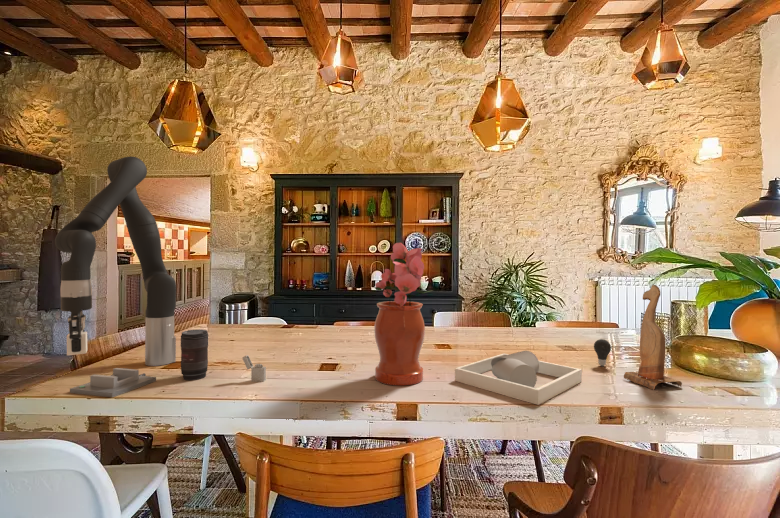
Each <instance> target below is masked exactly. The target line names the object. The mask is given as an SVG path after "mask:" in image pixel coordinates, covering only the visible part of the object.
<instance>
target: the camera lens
mask: <svg viewBox="0 0 780 518" xmlns="http://www.w3.org/2000/svg"><path fill="white" fill-rule="evenodd" d="M208 347H209V333H208V330H207V329H190V330H184V331H182V332H181V335H180V350H181V351H180V372H181V375H182V379H183V380H186V381H195V380H200V379H203V378H205V377H207V371H208V366H209V358H208V357H209V355H208V354H209V352H208V351H209V349H208Z"/></svg>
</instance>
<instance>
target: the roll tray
mask: <svg viewBox="0 0 780 518" xmlns="http://www.w3.org/2000/svg"><path fill="white" fill-rule="evenodd" d="M509 354H510V353H509ZM509 354H508V353H501V354H498V355H494V356H491V357H487V358H484V359H481V360H478V361H474V362H472V363H468V364H465V365H461V366H458V367H455V368H454V381H455V382H458V383H461V384H465V385H468V386H471V387H475V388H479V389H482V390H486V391H490V392H493V393H496V394H499V395H503V396H506V397H509V398H513V399H517V400H520V401H523V402H527V403H530V404H534V405H537V406H539V405H542V404H543V403H545V402H547V401H548V400H550V399H552V398H554V397H556V396H557V395H559V394H561V393H563V392H565V391H567V390H568V389H571V388H573V387H574V386H576V385H577V384H580V383H582V381H583V380H582V376H583V375H582V368H577V367H572V366H568V365H563V364H557V363H553V362H547V361H543V360H539V359H538V361H539V370H538V372H537V373H538V374H542V375H547V376H551V377H556V379H554V380H552V381H549V382H547V383H545V384H543V385H541V386H538V387H537V388H536V387H534V388H533V387H529V386H525V385H521V384H517V383H514V382H510V381H506V380H502V379H499V378H497V377H494V376H490V375H487V374H483V373H485V372H489V371H492V365H491V361H492V360H493V359H494V358H497V357H501V356H505V355H509ZM537 373H536V374H537Z"/></svg>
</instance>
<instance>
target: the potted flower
mask: <svg viewBox="0 0 780 518" xmlns="http://www.w3.org/2000/svg"><path fill="white" fill-rule="evenodd" d="M422 250H423V248H422V247H417V248H412V249H410V250H408V249H407V247H406V246H405V245H404V244H403V243H402V242H396V243H394V244H393V245H392V253H391V255H390V260H391V261H392V263H393V264H394V272H392V270H391V269H390V268H385V269H384V272H383V273H381V275H380V277H381V280H380V281H377V282H376V283H374V284H375V287H374V290H375V291H380V292H382V294H383V296H385V298H390V297H392V295H394V300H393V301H392V300H389V301H381V302H377V303H376V306H377V308H379V310H378V314H377V315H376V318H375V321H374V327H373V328H374V330H373V332H374V340H375V345H376V347H377V350H378V354H379V355H378V356H379V362H378V365H377V366H375V369H374V376H375V377H374V379H375V380H376V381H377V382H378V383H381V384H384V385H388V386H397V387H400V386H401V387H402V386H411V385H416V384H420V383H421V382H423V380H424V368H423V367H422V366H421V364H420V360H419V358H420V353H421V350H422V347H423V344H424V340H425V334H426V327H425V320H424V317H423V315H422V312H421V309H422V307H423V305H424V304H423V303H421V302H417V301H411V297H414V296H417V295H421V294H425V293H430V292H432V291H434V290H428V291H423V290H419V289H418V288H419V287H421V285H422V284H421V280H422V278H424V276H423V274H424V270H425V264H424V262H423V261H422V258H423V256H422ZM387 282H389V284H390V285H387ZM392 283H394V286H391V285H392ZM392 290H394V291H395V292H394V294H393V291H392ZM412 292H417V293H416V294H413V295H411V293H412ZM407 298H409V301H407V300H408V299H407Z"/></svg>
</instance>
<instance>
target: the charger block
mask: <svg viewBox="0 0 780 518" xmlns="http://www.w3.org/2000/svg"><path fill="white" fill-rule="evenodd" d="M73 334H78V332H77V333H73ZM69 336H70V333H68V334H67V335H66V356H73V355H75V356H77V355H83V354H87V352H88V331H84V332H81V336H82V338H81V351H79V352H72V343H71V339H70V338H69Z"/></svg>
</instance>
